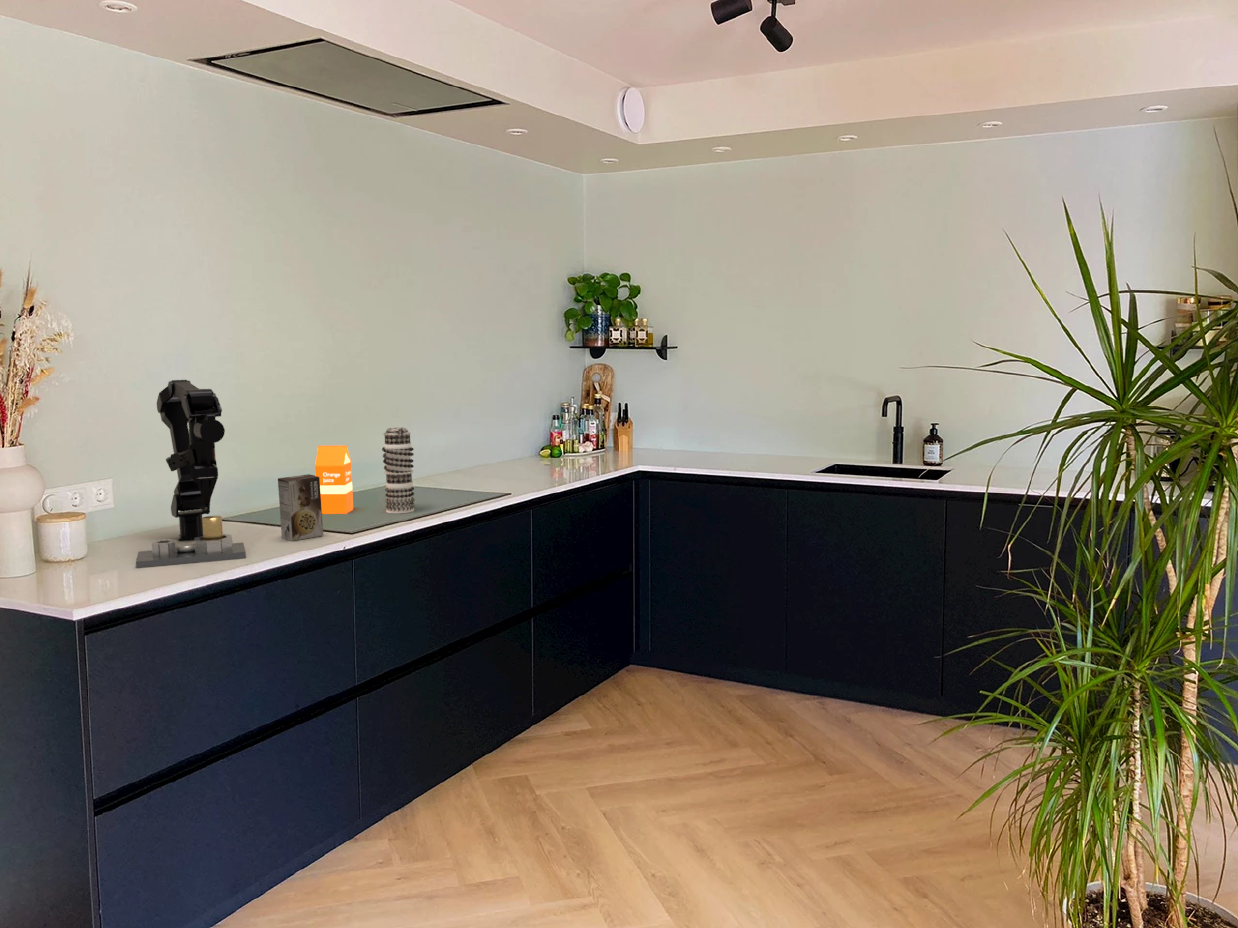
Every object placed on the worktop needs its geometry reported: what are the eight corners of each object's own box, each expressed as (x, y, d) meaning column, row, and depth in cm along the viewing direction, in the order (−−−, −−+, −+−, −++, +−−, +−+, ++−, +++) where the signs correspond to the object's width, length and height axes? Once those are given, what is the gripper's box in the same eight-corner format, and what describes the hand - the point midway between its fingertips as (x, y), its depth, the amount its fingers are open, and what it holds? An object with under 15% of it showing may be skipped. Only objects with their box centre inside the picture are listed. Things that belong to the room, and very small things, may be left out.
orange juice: (346, 513, 303) (343, 447, 300) (316, 513, 303) (313, 447, 301) (353, 509, 311) (350, 444, 308) (325, 509, 311) (321, 444, 308)
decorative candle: (404, 514, 301) (401, 430, 297) (378, 512, 304) (374, 429, 301) (422, 509, 309) (418, 427, 306) (396, 507, 313) (393, 426, 309)
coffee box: (312, 532, 276) (309, 473, 273) (324, 536, 271) (320, 476, 269) (280, 537, 269) (276, 477, 267) (291, 541, 265) (288, 480, 262)
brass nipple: (204, 548, 250) (202, 516, 249) (223, 546, 252) (221, 515, 251) (204, 552, 246) (202, 519, 245) (224, 550, 248) (221, 518, 247)
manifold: (138, 557, 248) (137, 539, 247) (243, 548, 257) (242, 530, 256) (136, 567, 237) (135, 549, 236) (245, 557, 246) (244, 539, 246)
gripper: (167, 437, 259) (171, 498, 262) (165, 445, 242) (170, 509, 244) (214, 435, 264) (218, 494, 266) (216, 442, 247) (220, 506, 249)
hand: (206, 501), depth 256 cm, fingers open, 9 cm apart
